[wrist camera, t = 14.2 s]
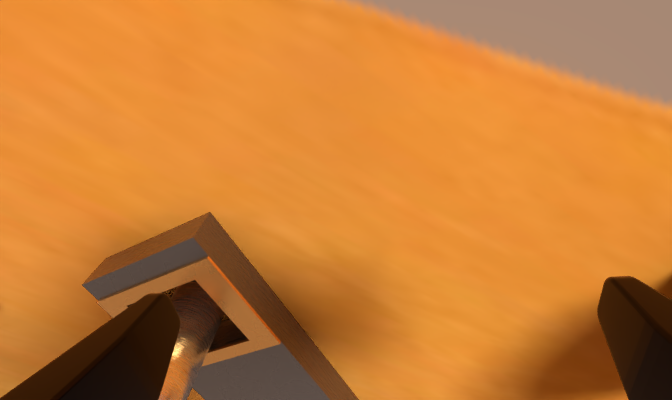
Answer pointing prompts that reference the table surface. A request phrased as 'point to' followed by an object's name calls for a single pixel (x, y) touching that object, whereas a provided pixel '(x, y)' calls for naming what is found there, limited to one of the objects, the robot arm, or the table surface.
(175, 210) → the table surface
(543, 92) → the table surface
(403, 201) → the table surface
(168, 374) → the peg
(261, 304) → the rail
